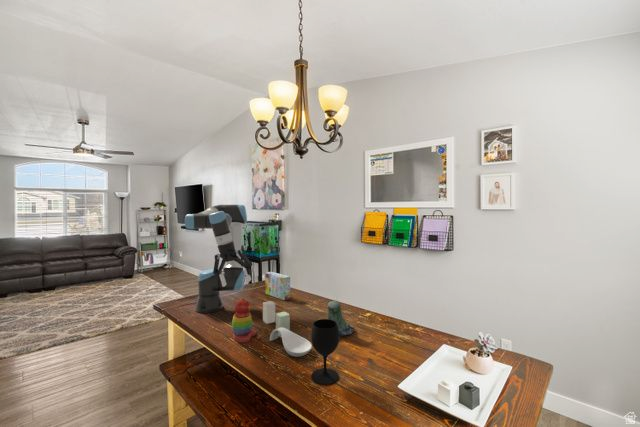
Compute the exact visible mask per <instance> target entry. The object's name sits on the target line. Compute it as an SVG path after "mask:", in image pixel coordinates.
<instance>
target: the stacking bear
mask: <svg viewBox="0 0 640 427" xmlns="http://www.w3.org/2000/svg"><path fill="white" fill-rule="evenodd" d="M234 309H235V313H234V314H233V316H232V321H231V328H232V333H233V334H232V339H233V340H234V341H236V342H239V343H244V344H245V343H249V342H250V341H251V338H252V337H255V336H256V334H257V331H256V330H255V329H252V328H253V318H252V314H251V312H250V310H251V309H252V304H250V302H249V301H248V300H246V299H245V298H242V299H240V300H238V301H236V302H235V305H234Z"/></svg>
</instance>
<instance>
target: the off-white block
mask: <svg viewBox="0 0 640 427" xmlns="http://www.w3.org/2000/svg"><path fill="white" fill-rule="evenodd" d="M262 321H263V323H264V324H267V325H269V324H272V323H276V302H275V301H273V300H268V301H264V302H262Z"/></svg>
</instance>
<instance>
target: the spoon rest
mask: <svg viewBox="0 0 640 427" xmlns="http://www.w3.org/2000/svg"><path fill="white" fill-rule="evenodd" d="M278 332H280V333H281V336H282V337H281V342H282V346H283V348H284V350H285V352H286V353H287V354H288V355H289V356H291V357H296V358H297V357H303V356H305V355H308V353H310V352H311V350H312V348H313V345H312V342H311V341H309V340H308V339H306V338H305V337H302V336H301V335H298V334H297V333H295V332H293V331H291V329H290V330H288V329H286V328H283V327H281V328H278V329H276V328H275V329H273V330H272V331H271V332H270V336H269V340H268V341H269V342H270V341H271V342H273V341H275V340H277V339H279V336H278Z"/></svg>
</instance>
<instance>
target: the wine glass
mask: <svg viewBox="0 0 640 427" xmlns="http://www.w3.org/2000/svg"><path fill="white" fill-rule="evenodd" d="M339 342H340V337H339V330H338V326H337V323H336V322H335V321H333V320H330V319H327V318H322V319H321V318H320V319H317V320H315V321H314V322H313V324H312V327H311V332H310V343H311V344H312V348H313V349H314V350H315V351H316V352H317V353H318V354H319V355H321V356H322V357H323V358H322V359H323V367H322V368H321V367H320V368H317V369H315V370H314V371H312V373H311V375H310V378H311V380H312V382H313V383H315V384H316V385H320V386H331V385H334V384H336V383H337V382H338V381H339V379H340V374H339V373H338V371H336V370H335V369H332V368H330V367H329V368H328V367H327V362H328V361H327V359H328V357H329V355H331V354H332V353H334V352H335V351H336V349H337V348H338V346H339Z"/></svg>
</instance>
